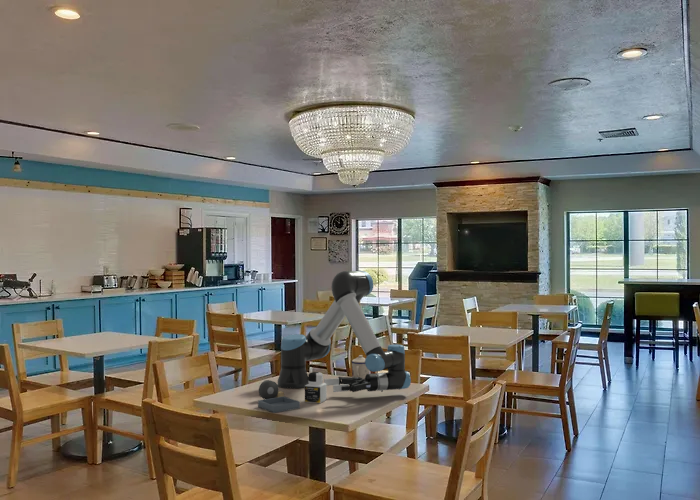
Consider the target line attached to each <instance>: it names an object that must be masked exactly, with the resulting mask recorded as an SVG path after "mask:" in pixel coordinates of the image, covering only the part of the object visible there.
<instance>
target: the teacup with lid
mask: <svg viewBox="0 0 700 500" xmlns="http://www.w3.org/2000/svg"><path fill="white" fill-rule="evenodd" d="M365 359H366V357H363V354H359V355H358V357H356V358H354V359H351V377H361V378H362V379H365V376H366V375H367V374H370V371H369V370H368V369H367V367H366V365H365Z"/></svg>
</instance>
